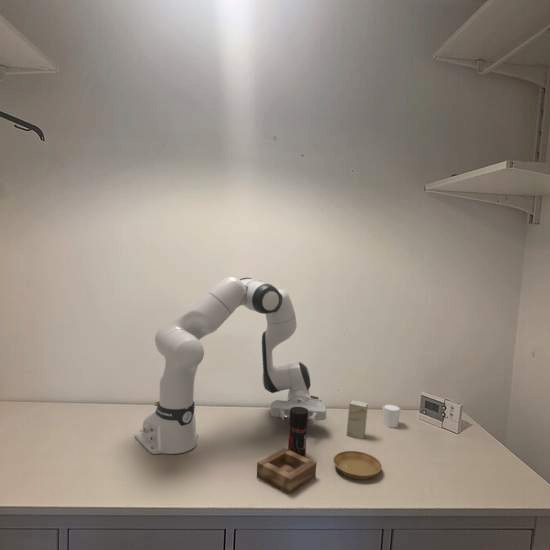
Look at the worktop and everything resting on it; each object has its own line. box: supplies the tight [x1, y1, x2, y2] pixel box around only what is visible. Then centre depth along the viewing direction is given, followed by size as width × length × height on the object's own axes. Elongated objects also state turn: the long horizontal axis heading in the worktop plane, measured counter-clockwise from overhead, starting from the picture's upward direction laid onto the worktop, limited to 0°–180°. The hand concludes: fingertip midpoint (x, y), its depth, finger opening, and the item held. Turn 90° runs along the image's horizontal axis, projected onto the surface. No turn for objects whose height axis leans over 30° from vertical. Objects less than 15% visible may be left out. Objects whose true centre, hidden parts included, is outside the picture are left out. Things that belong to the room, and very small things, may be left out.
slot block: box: [256, 447, 317, 496], centre depth 127 cm, size 12×12×4 cm
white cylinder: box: [382, 403, 402, 428], centre depth 168 cm, size 7×7×7 cm
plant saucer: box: [333, 450, 382, 480], centre depth 134 cm, size 15×15×3 cm
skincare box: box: [346, 399, 369, 440], centre depth 157 cm, size 6×4×12 cm
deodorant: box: [287, 407, 309, 458], centre depth 141 cm, size 6×6×15 cm
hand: (298, 419), depth 150 cm, fingers open, 8 cm apart
